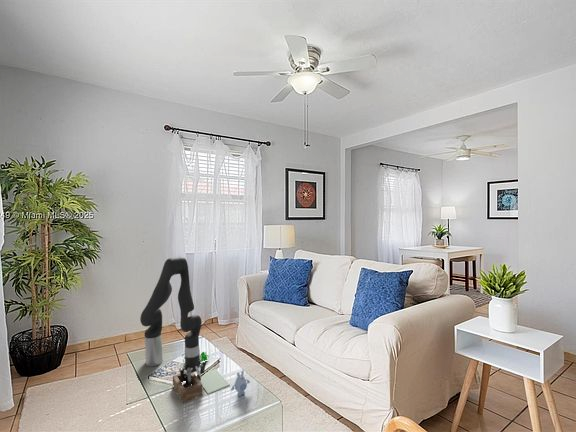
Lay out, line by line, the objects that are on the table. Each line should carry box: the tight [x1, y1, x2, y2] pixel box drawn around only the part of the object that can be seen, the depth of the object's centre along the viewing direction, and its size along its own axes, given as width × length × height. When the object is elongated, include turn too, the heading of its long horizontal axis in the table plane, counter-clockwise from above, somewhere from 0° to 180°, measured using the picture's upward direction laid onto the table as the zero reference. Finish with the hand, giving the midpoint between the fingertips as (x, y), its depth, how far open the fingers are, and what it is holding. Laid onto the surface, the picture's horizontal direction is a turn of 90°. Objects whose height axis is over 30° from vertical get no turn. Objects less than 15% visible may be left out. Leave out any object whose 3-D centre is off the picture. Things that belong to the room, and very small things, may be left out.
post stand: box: [186, 367, 191, 387], centre depth 159 cm, size 3×3×14 cm
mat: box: [200, 368, 230, 395], centre depth 171 cm, size 18×12×1 cm, turn 36°
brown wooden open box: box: [172, 371, 203, 404], centre depth 163 cm, size 16×10×6 cm, turn 36°
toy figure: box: [231, 370, 251, 397], centre depth 160 cm, size 11×6×12 cm, turn 127°
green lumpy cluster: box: [182, 351, 210, 363], centre depth 190 cm, size 15×15×7 cm
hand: (193, 383), depth 168 cm, fingers open, 5 cm apart
